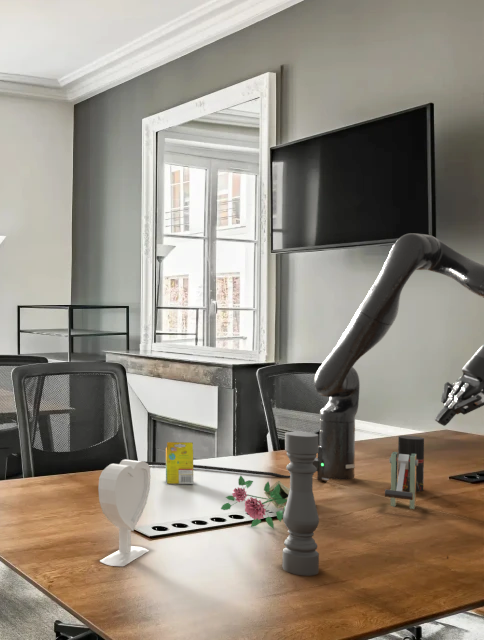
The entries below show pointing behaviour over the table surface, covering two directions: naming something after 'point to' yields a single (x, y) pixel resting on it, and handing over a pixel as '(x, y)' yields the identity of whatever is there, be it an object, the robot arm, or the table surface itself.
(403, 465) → the lever
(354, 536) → the table surface
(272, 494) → the flower vase
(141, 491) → the heart sculpture
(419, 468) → the deodorant
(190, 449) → the crayon box
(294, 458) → the candle holder
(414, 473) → the bracket
